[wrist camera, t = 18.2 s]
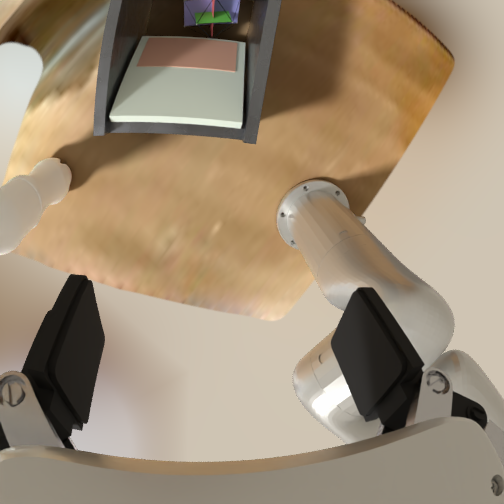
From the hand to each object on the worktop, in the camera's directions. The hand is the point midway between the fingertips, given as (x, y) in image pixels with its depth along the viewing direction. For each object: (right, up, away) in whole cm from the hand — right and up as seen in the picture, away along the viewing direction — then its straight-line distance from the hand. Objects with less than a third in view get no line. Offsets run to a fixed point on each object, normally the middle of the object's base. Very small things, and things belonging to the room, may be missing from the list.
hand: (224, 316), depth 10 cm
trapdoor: (-7, +21, +17) cm, 28 cm away
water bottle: (-29, +14, +27) cm, 42 cm away
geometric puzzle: (-4, +28, +16) cm, 33 cm away
